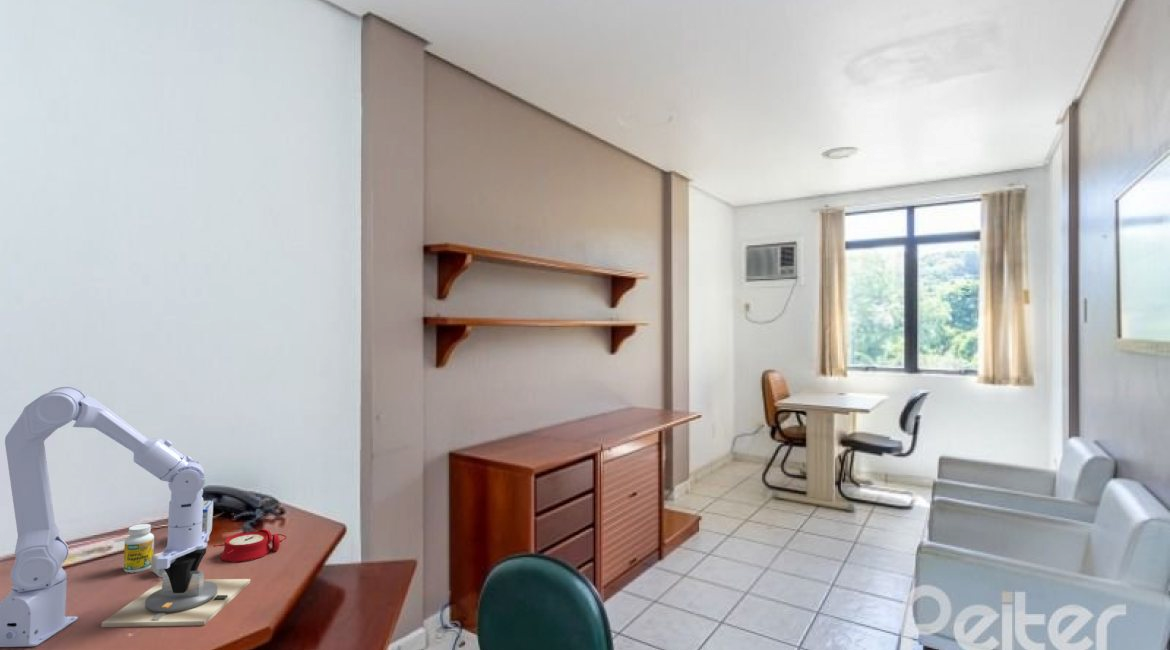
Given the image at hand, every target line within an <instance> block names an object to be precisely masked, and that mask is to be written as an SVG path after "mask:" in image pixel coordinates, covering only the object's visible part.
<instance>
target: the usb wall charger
mask: <svg viewBox="0 0 1170 650" xmlns="http://www.w3.org/2000/svg"><path fill="white" fill-rule="evenodd" d="M162 553H163V551H161V552H158V553H155V554H154V555H153V556H152V558H151V568H150V571H151V572H152V573H154V574H155V575H157V577H159V578H162V576H163V574H164V573H165V572H166V571H165V570H164V569H156V560H157V558H159V557H160V556H161V554H162Z"/></svg>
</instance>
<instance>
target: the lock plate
mask: <svg viewBox="0 0 1170 650" xmlns="http://www.w3.org/2000/svg"><path fill="white" fill-rule="evenodd" d="M204 581H208V582H212V583H215V584H216V585H217V587H218V591H217V594H216V596H215V597H214V598H213V599H211V600H210V601H208V602H206V603H204V604H202V605H199V606H197V607H194V608H191V609H187V610H183V611H178V612H170V613H157V612H151V611H149V610H147V609H146V608H145V601H146V599H147V597H148V596H150V595H151V594H152V593H154V592H156V591H158V590H160V589H162V580H161V581H159V582H158V583H156V584H155V585H154V586H152V587H150V588H149V589H147V591H145V592H143V593H142V594H141V595H139V596H138V597H136V598H135V599H133V600H132V601H131V602H129V603H128V604H126V605H125V606H124V607H122V608H121V609H119V610H118V611H116V612H114V613H113V614H112V615H111V616H109V617H108V618H106V619H105V620H103V621H102V622H101V625H100V626H101V628H120V627H124V628H125V627H126V628H128V627H129V628H130V627H131V628H133V627H134V628H135V627H177V626H178V627H179V626H181V627H182V626H184V627H185V626H187V627H189V626H205V625H206V624H207V623H208V622H209V621H211V620H212V619H213V618H214V617H215V616H216V615H217V614H218V613H219V612H220V611H222V610H223V609H224V608H225V607H226V606H227V605H228V604H229V603H230V602H231V601H232V600H234V598H235V597H237V595H239V594H240V593H241V592H242V591H244V589H246V587H247V586H248V585H249V584H250V583H251V578H228V579H227V578H223V579H222V578H220V579H219V578H215V579H213V578H212V579H210V578H208V579H205V578H204Z"/></svg>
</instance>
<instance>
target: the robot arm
mask: <svg viewBox="0 0 1170 650" xmlns="http://www.w3.org/2000/svg"><path fill="white" fill-rule="evenodd" d="M72 421H75V422H74V424H73V425H72V427H73V428H89V429H91V428H92V429H95V430H97V431H99V432H100V433H102V434H104V435H105V436H107V437H109V438H110V439H112V440H113V441H114V442H116V443H118V444H119V445H121V446H123V447H125V448H126V449H128V450H129V451H131V452H132V453H133V463H135V464H137V465H138V466H140V467H141V468H143V469H144V470H146V471H147V472H149V473H150V474H151V475H152V476H154V477H156V478H157V479H159V480H160V481H161V482H167V485H168V488H169V491H170V492H171V493H170V494H171V495H170V501H169V503H168V521H167V522H168V524H167V527H168V528H167V543H166V544H167V545H166V547H165V548H164V550H163V551H162V552H163V553H162V554H161V556H160V557H159V558H157V560H156V569H164V570H165V571H166V573H167V575H168V577H169V580H170V583H171V587H172V590H173V593H184V592H185V591H186V589H187V585H188V579H189V574H190V571H198V569H199V566H200V565H201V562H202V560H203V558H204V557H205V556H206V554H207V548H206V547H208V541H210V535H209V532H202V519H203V501H204V497H203V495H204V489H203V488H204V485H205V483H206V479H205V470H204V467H203V466H202V465H201V464H200V463H199V461H198V460H193V457H191V456H190V455H187V456H185V455H184V454H183V453H181V452H180V451H179V450H176V449H175V448H174V447H173V446H172V445H173V442H172V441H171V440H169V439H166V440H164V439H161V438H158V437H157V438H148V437H146V436H145V435H144V434H142V433H141V432H139V430H137V429H136V428H134V427H133V426H131V425H130V424H129V423H128V422H126V421H125V420H124V419H123V418H121V417H120V416H119V415H118V414H117V413H115V412H114V411H112V410H111V409H109V408H108V407H107V406H105V405H104V404H103V403H101V402H100V401H99V400H97V399H96V398H94V397H92V396H90V395H87V396H86V394H85V393H84V392H83V391H82V390H80V389H78V388H75V387H74V386H73V387H72V386H61V387H60V386H59V387H57V388H54V389H52V390H51V391H49V392H46V393H44V394H41V395H40V396H38V397H37V398H36V399H33V401H31V402H30V403H29V404H27V405H26V406H25V407H23V410H22V412H21V413H20V415H19V416H18V418H17V419H16V421H15V423H14V424H12V427H11V428H10V430H9V431H8V433H7V434H6V435H5V439H4V445H5V451H6V453H5V454H6V460H7V467H8V474H9V475H8V476H9V480H10V482H9V483H10V489H11V496H12V502H13V510H14V517H15V524H16V532H17V539H16V545H15V550H14V556H15V560H14V561H15V562H14V564H13V566H12V568H11V570H10V573H9V574H10V575H9V579H10V580H11V583H12V584H11V585H12V586H11V590H10V592H9V593H8V594H7V596H6V597H5V598H4V599H2V600H1V601H0V648H15V647H17V648H18V647H19V648H20V647H23V648H24V647H37V646H38V645H40V644H42V643H43V642H45V641H46V640H48V639H49V638H51V637H52V636H54V635H55V634H57V633H58V632H60V631H62V630H63V629H65V628H66V627H68V626H69V625H71V624H72V623H74V622H75V621H77V620H78V616H66V607H67V606H66V604H67V603H66V602H67V579H68V578H67V577H68V573H67V572H66V570H64V568H63V567H62V565H63V564H64V563H65V560H67V558H68V556H69V554H70V553H69V551H70V549H69V546H68V543H66V542H65V540H64V539H63V537H62V536H61V533H60V529H59V527H58V526H57V524H56V522H55V514H54V507H53V498H52V490H51V484H50V483H51V482H50V478H49V470H48V461H47V454H46V448H45V446H46V445H45V441H46V440H47V439H48V438H49V437H50V436H51V435H52V434H54V432H55V431H57V430H58V429H59V428H63V427H65V425H67V424H69V423H71V422H72Z"/></svg>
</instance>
